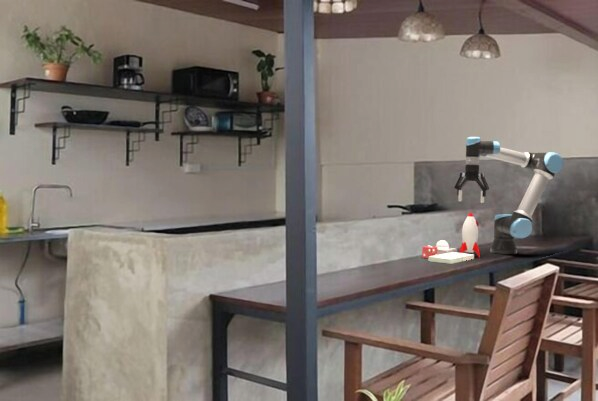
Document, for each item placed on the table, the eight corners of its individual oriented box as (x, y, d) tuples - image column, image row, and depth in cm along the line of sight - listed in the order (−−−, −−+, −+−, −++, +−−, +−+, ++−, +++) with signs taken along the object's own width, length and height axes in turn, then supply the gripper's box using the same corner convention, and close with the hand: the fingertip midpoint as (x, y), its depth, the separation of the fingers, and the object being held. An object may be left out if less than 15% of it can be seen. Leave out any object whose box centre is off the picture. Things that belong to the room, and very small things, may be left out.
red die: (427, 256, 361) (428, 244, 360) (438, 257, 356) (438, 246, 356) (421, 257, 356) (421, 245, 355) (432, 258, 351) (432, 247, 351)
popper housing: (438, 253, 375) (438, 246, 375) (456, 255, 367) (456, 248, 367) (427, 255, 366) (427, 248, 366) (446, 257, 358) (446, 250, 358)
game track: (452, 256, 363) (452, 252, 363) (474, 259, 354) (474, 254, 354) (428, 261, 343) (428, 256, 343) (450, 264, 334) (450, 259, 334)
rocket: (479, 258, 358) (481, 213, 356) (460, 257, 360) (461, 213, 358) (478, 255, 369) (479, 212, 367) (459, 254, 371) (460, 211, 369)
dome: (439, 252, 372) (440, 239, 371) (450, 253, 367) (451, 240, 367) (433, 253, 366) (433, 240, 366) (444, 254, 362) (445, 241, 361)
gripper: (449, 164, 367) (448, 200, 368) (490, 164, 350) (488, 203, 351) (455, 164, 372) (454, 200, 374) (496, 164, 356) (494, 202, 357)
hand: (471, 202), depth 363 cm, fingers open, 13 cm apart
